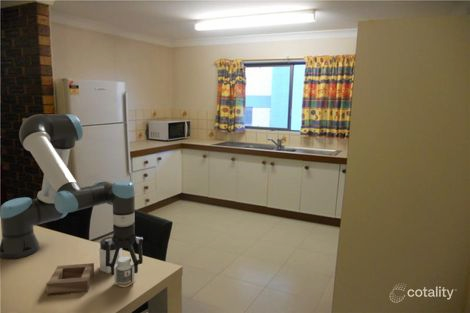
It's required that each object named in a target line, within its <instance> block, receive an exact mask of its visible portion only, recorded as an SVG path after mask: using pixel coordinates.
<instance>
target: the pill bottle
mask: <svg viewBox="0 0 470 313" xmlns="http://www.w3.org/2000/svg"><path fill="white" fill-rule="evenodd" d="M132 264H133V262H132V257H131V256H122V257H120V258H119V259H118V265H117V284H116V285H117V286H118V287H120V288H125V287H129V286H131V285H132V284H133V283H132Z"/></svg>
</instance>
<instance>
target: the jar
mask: <svg viewBox="0 0 470 313" xmlns="http://www.w3.org/2000/svg"><path fill="white" fill-rule="evenodd" d="M112 237H113V236H108V237H104V238H101V240H100V241H99V245H100V246H99V250H98V252H99V270H100V271H101V272H103V273H107V274H111V267H109V266H108V267H107V266H106V246H105V240H106V239H111V238H112ZM116 247H117V246H116V245H115V244H114V242H112V244H111V245H110V262H112V260H113V257H114V254H115V251H116ZM120 257H123V248H120V250H119V253H118V256H117V259H116V262H115V265H116V264H117V265H118V259H119V258H120Z"/></svg>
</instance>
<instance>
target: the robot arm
mask: <svg viewBox="0 0 470 313" xmlns="http://www.w3.org/2000/svg"><path fill="white" fill-rule="evenodd" d="M18 136H19V137H18V138H19V140H20V143H21V145H22V146H23V149H25V150H26V151H27V152H30V153H31V155H32V157H33V158H34V160H35V162H36V163H37V165H38V167H39V168H40V169H41V171H42V173H43V179H42V186H41V190H39V191H38V192H37V195H36V198H35V199H34V198H33V199H32V198H30V197H25V196H24V197H17V198H13V199H10V200H8V201H5V202H4V203H3V204H2V205H1V206H0V227H1V240H0V258H1V259H6V260H12V259H13V260H15V259H21V258H25V257H28V256H30V255H33V254H34V253H36V252H38V251H39V248H40V243H39V240H38V238H37V236H36V234H35V231H34V226H38V225H41V224H44V223H45V224H46V223H49V222H53V221H57V220H60V219H63V218H64V217H67V215H68V213H74V212H76V211H80V210H85V209H89V208H92V207H96V206H100V205H104V204H106V205H110V206H112V224H113V225H112V235H113V236H111V237H112V238H111V239H106V240H105V246H106V266H107V267H108V266H109V267H111V273H110V274H111V276H114V277H113V279H114V280H113V281H114V283H113V284H114V285H117V264H116V265H115V262H116V259H117V256H118V253H119V250H120V248H122V249H124V248H125V249H128V252H129V255H130V258H131V261H132V284H133V283H136V282H135V281H136V274H138V272H139V271H138V270H139V265H141V264H143V262H144V260H143V243H144V242H143V240H144V238H143V236H137V235H136V234H135V232H136V231H135V228H136V227H135V226H136V225H135V218H136V217H135V212H136V211H135V194H136V193H135V192H136V191H135V185H134V183H133V181H129V180H118V181H115V182H113V183H111V182H109V181H104V180H99V181H96V182H95V183H94V184H92V185H90V186H84V187H83V186H82V187H81V186H80V184H79V183H78V181H77V180H76V179H75V177H74V176H73V174H72V173H71V171H70V169H69V168H68V163H69V158H70V152H71V150H72V149H74V148H75V145H76V142H79V141H81V140H82V138H83V137H84V130H83V125H82V122H81V121H80V118H78V117H77V116H76V115H74V114H67V113H61V114H60V113H59V114H56V113H55V114H53V113H52V114H51V113H50V114H49V113H48V114H43V113H39V114H33V115H31V116H29V117H27V118H26V119H25V120H24V121H23V123H22V124H21V126H20V129H19V134H18ZM135 241H136V244H137V248H138V249H137V250H138V258H137V255H136V253H135V249H134V246H133V244H134V243H135ZM112 242H114V244H115V245H116V246H117V247H116V251H115V254H114V257H113V260H112V262H110V245H111V244H112Z"/></svg>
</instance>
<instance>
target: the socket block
mask: <svg viewBox="0 0 470 313" xmlns="http://www.w3.org/2000/svg"><path fill="white" fill-rule="evenodd" d="M94 275H95V263H94V262H93V263H92V262H91V263H79V264H63V265H57V266H56V267H55V270H54V272H52V274H51V276H50V278H49V280H48V281H47V283H46V289H47V290H46V291H47V297H49V296H50V297H51V296H52V297H53V296H57V295H58V296H61V295H69V294H71V293H73V294H82V292H84V293H88V291H89V289H90V287H91V285H92V280H93V278H94ZM71 295H72V294H71Z"/></svg>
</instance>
